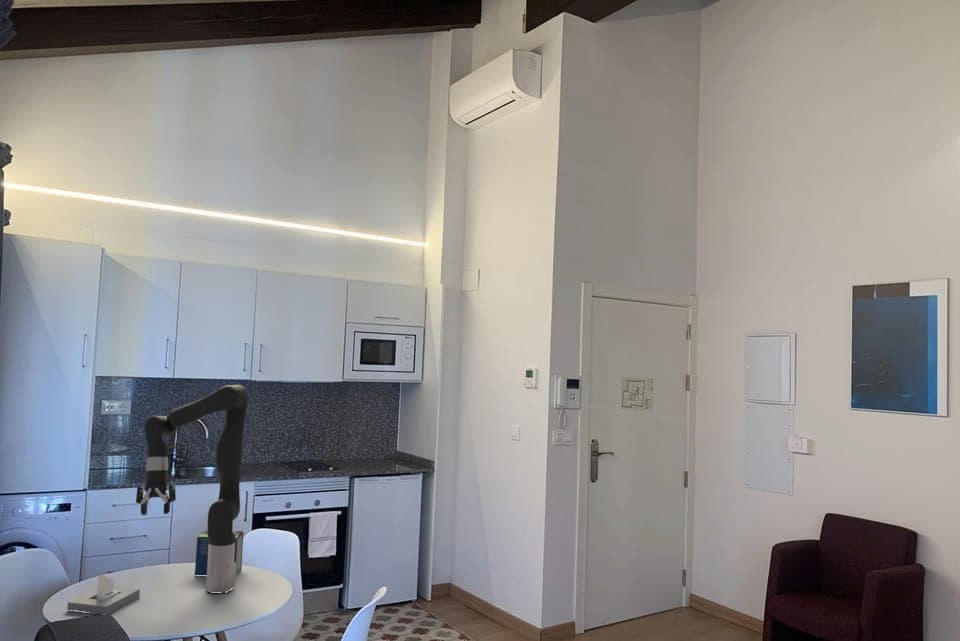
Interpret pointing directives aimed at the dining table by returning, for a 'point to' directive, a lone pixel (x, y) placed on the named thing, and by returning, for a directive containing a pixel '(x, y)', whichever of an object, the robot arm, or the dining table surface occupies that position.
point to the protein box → (203, 552)
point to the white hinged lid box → (105, 588)
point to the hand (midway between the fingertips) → (155, 514)
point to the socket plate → (101, 606)
